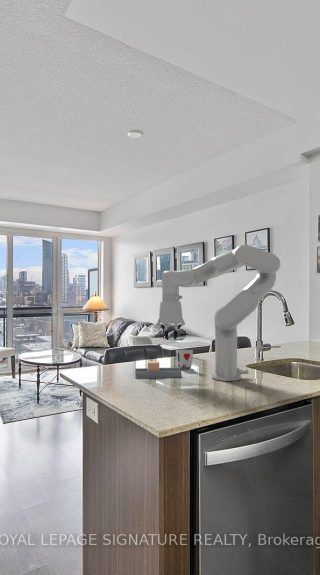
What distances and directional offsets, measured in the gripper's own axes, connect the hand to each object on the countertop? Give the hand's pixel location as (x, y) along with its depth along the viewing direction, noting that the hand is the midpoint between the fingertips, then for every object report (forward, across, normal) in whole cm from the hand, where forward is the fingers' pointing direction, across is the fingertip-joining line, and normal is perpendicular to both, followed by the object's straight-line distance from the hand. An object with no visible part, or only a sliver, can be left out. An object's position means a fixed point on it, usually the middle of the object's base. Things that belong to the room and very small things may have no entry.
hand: (171, 339), depth 168 cm
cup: (+17, -8, -14) cm, 24 cm away
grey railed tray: (+17, +6, 0) cm, 18 cm away
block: (+16, +8, 0) cm, 18 cm away
